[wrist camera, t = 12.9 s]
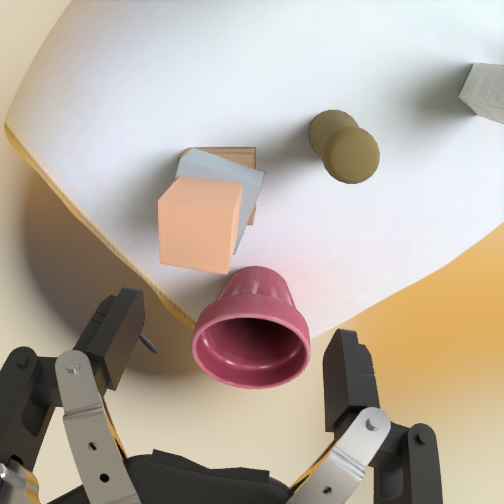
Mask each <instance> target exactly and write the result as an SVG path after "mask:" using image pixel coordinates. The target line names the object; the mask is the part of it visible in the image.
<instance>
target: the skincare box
mask: <svg viewBox="0 0 504 504" xmlns="http://www.w3.org/2000/svg"><path fill="white" fill-rule="evenodd" d="M458 98H459V99H461V100H462V101H463V102H464V103H465V104H466V105H467V106H469V107H470V108H471V109H472V110H473V111H474V112H475V113H476V114H477V115H479V116H482V117H485V118H487V119H490V120H493V121H496V122H499V123H501V124H504V65H496V64H485V63H474V64H473V66H472V69H471V71H470V73H469V75H468V77H467V80H466V82H465V84H464V86H463V88H462V90H461V92H460V94H459V96H458Z"/></svg>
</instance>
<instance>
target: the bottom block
mask: <svg viewBox="0 0 504 504" xmlns="http://www.w3.org/2000/svg"><path fill="white" fill-rule="evenodd" d="M193 148H195V149H198V150H201V151H204V152H207V153H210V154H213V155H216V156H219V157H222V158H225V159H228V160H231V161H234V162H237V163H240V164H242V165H245V166H248V167H251V168H254V169H256V147H193ZM191 149H192V148H188V149H187V150H186V151H185V152H183V153H182V154H181V155H180V156H179V157H178V162H179V161H180V159H181V158H182V157H183V156H184V155H185V154H186V153H187V152H188V151H190V150H191ZM255 210H256V203H255V205H254V208H253V210H252V213H251V215H250V218H249V220H248V223H247V225H253V220H254V215H255Z"/></svg>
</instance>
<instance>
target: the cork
mask: <svg viewBox="0 0 504 504" xmlns="http://www.w3.org/2000/svg"><path fill="white" fill-rule="evenodd" d="M309 140H310V143H311V146H312V147H313V149H314V150H315V151H316V153H318V154H319V155H320V156H321V157H322V161H323V163H324V166H325V169H326V170H327V171H328V173H329V174H330V175H331V176H332V177H334V178H335V179H336V180H338V181H340V182H344V183H347V184H357V183H360V182H363V181H365V180H367V179H368V178H370V177H371V176H372V175H373V173H374V172H375V171H376V169H377V166H378V164H379V156H380V153H379V149H378V145H377V143H376V141H375V140H374V138H373V137H372V135H370V134H369V133H368V132H366V131H365V130H364V129H361V128H359V127H358V125H357V123H356V122H355V120H354V119H353V118H352V117H351V116H350V115H348V114H347V113H345V112H343V111H340V110H328V111H325V112H322V113H320V114H319V115H318V116H316V117H315V119H314V120H313V121H312V123H311V125H310V128H309Z"/></svg>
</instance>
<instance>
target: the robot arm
mask: <svg viewBox="0 0 504 504" xmlns="http://www.w3.org/2000/svg"><path fill="white" fill-rule="evenodd" d="M144 320H145V312H144V301H143V292H142V290H140V289H136V288H132V287H128V286H124V287H123V288H122V289H121V291H120V293H119V294H118V296H117V297H116V296H113V295H110V296H109V297H107V298H106V299H105V300H103V301H102V302H101V303H100V305H99V307H98V308H97V310H96V313H94V315H93V316H92V318H91V321H89V323H88V325H87V326H86V328H85V330H84V331H83V333H82V335H81V336H80V338H79V340H78V342H77V343H76V345H75V347H74V348H73V349H72V350H69V351H66V352H64V353H63V354H61V355H60V356H59V357H57V358H56V357H55V358H54V357H38V356H37V355H36V353H35V352H34V351H33V350H32V349H31V348H29V347H18V348H16V349H14V350H13V351H12V352H11V353H10V354H9V356H8V358H7V360H6V361H5V363H4V365H3V367H2V369H1V371H0V504H41V503H40V501H39V497H38V492H39V484H38V481H37V479H36V477H35V476H34V475H33V473H32V471H33V468H34V465H35V462H36V459H37V456H38V453H39V450H40V447H41V445H42V442H43V439H44V436H45V433H46V431H47V428H48V425H49V423H50V420H51V417H52V415H53V412H54V410H55V407H63V408H64V413H65V415H64V416H63V423H64V426H65V430H66V434H67V438H68V441H69V444H70V448H71V451H72V454H73V457H74V460H75V463H76V466H77V469H78V472H79V475H80V478H81V480H82V483H83V484H82V485H80V486H79V487H77V488H75V489H73V490H71V491H70V492H68V493H66V494H64V495H62V496H60V497H58V498H57V499H55V500H53V501H51V502H49V503H47V504H344V503H345V502H346V501H347V499H348V498H349V497H350V495H351V494H352V493H353V492H354V490H355V489H356V487H357V486H358V485H359V483H360V482H361V480H362V479H363V477H364V475H365V473H364V470H365V468H366V467H367V466H370V467H374V504H443V499H442V484H441V474H440V464H439V456H438V448H437V440H436V435H435V433H434V431H433V430H432V428H431V427H429V426H428V425H426V424H423V423H418V424H415V425H413V426H412V427H411V428H408V427H404V426H401V425H398V424H395V423H393V422H391V421H390V419H389V417H388V416H387V414H385V412H384V411H382V410H381V409H380V405H379V398H378V392H377V386H376V380H375V376H374V369H373V363H372V358H371V354H370V353H369V351H368V349H367V348H366V346H365V345H361V344H359V343H358V338H357V333H356V331H351V330H345V329H337V330H336V332H335V334H334V335H333V337H332V339H331V341H330V343H329V345H328V347H327V349H326V351H325V353H324V357H323V380H324V400H325V401H324V403H325V431H326V432H334V440H333V441H332V442H331V443H330V444H329V446H328V447H327V448H326V449H325V450H324V451H323V453H322V454H321V455H320V456H319V457H318V458H317V460H316V461H315V462H314V463H313V464H312V465H311V466H310V467H309V469H308V470H307V471H306V472H305V473H304V474H303V475H302V476H300V478H298V480H296V482H295V483H293V484H292V485H291V486H290V487H287V486H286V485H285V484H283V483H282V482H280V481H278V480H276V479H274V478H272V477H269V471H266V470H258V469H250V468H242V467H239V468H226V469H209V468H206V467H204V466H201V465H199V464H197V463H195V462H193V461H191V460H188V459H186V458H184V457H182V456H179V455H174V454H171V453H166V452H163V451H159V450H156V449H153V453H152V454H146V455H137V456H133V457H129V458H128V457H127V455H126V453H125V450H124V448H123V446H122V443H121V441H120V439H119V437H118V434H117V432H116V430H115V427H114V424H113V422H112V419H111V416H110V413H109V410H108V407H107V404H106V402H105V398H104V395H105V392H106V390H107V388H108V389H111V390H114V391H115V390H116V388H117V386H118V383H119V381H120V379H121V376H122V374H123V372H124V369H125V367H126V365H127V362H128V360H129V358H130V355H131V353H132V351H133V349H134V346H135V344H136V342H137V340H138V337H139V335H140V333H141V331H142V328H143V325H144Z"/></svg>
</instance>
